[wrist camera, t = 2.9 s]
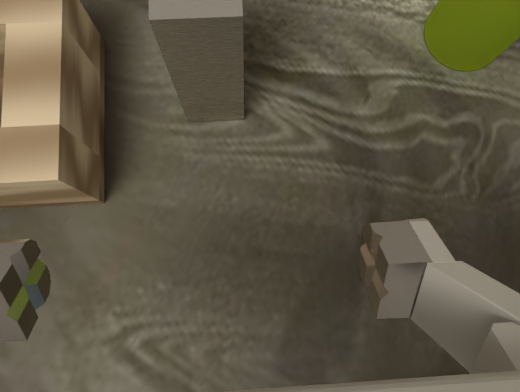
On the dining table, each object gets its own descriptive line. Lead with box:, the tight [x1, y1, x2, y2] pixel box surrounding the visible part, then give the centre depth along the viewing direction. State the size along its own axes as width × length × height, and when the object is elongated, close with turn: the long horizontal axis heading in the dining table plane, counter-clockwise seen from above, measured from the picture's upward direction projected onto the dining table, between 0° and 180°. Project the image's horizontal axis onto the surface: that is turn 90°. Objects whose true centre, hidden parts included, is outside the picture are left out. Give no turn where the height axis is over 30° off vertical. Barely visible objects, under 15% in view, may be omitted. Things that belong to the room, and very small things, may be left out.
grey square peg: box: [149, 0, 244, 123], centre depth 24 cm, size 4×4×12 cm
